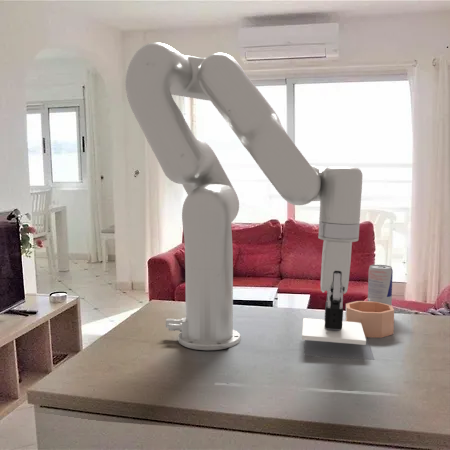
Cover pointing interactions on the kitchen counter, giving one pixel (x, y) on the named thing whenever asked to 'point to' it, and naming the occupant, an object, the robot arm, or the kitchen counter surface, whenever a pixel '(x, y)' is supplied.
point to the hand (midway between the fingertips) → (333, 324)
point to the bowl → (372, 317)
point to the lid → (333, 331)
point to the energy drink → (380, 284)
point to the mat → (338, 350)
